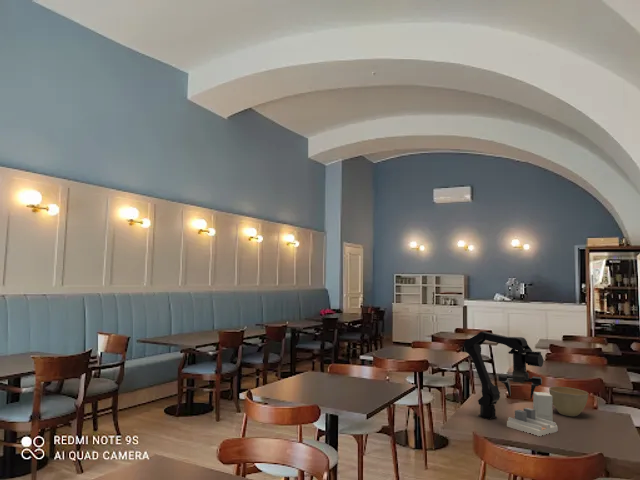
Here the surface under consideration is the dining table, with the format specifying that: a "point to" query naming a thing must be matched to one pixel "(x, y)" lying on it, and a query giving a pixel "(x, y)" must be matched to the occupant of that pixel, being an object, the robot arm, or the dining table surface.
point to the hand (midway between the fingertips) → (520, 397)
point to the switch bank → (533, 426)
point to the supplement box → (543, 405)
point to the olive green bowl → (568, 400)
